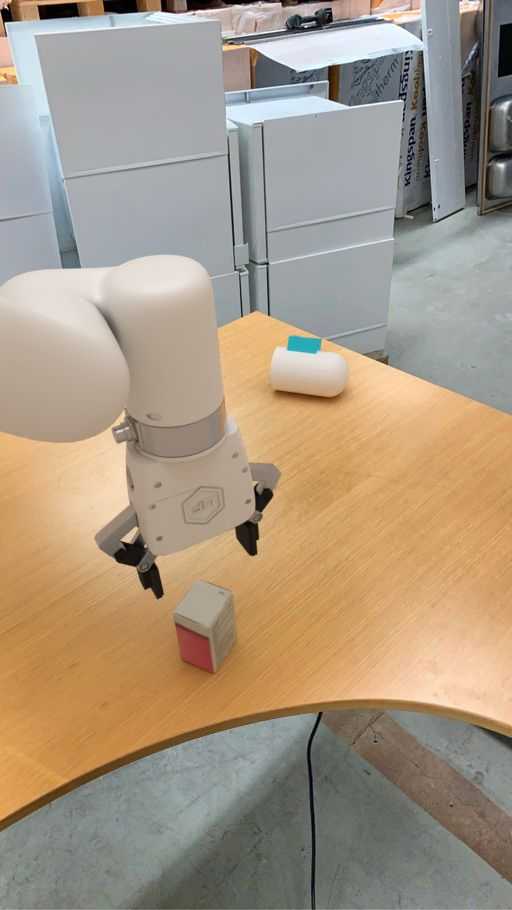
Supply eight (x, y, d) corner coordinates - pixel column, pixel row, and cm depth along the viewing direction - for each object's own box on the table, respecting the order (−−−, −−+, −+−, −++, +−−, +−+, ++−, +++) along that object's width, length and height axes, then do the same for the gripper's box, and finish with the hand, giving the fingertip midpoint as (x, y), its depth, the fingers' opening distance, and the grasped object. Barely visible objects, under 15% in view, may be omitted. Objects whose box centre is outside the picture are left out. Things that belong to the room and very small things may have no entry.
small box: (204, 624, 72) (197, 576, 67) (238, 638, 70) (234, 590, 65) (179, 660, 68) (170, 612, 64) (215, 676, 67) (208, 627, 62)
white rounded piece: (348, 344, 100) (273, 335, 103) (341, 402, 102) (268, 392, 105) (360, 338, 111) (291, 331, 114) (353, 391, 113) (286, 383, 116)
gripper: (86, 485, 45) (129, 635, 56) (298, 406, 51) (300, 555, 62) (57, 431, 51) (101, 578, 61) (252, 366, 57) (262, 509, 67)
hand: (202, 566), depth 62 cm, fingers open, 9 cm apart
